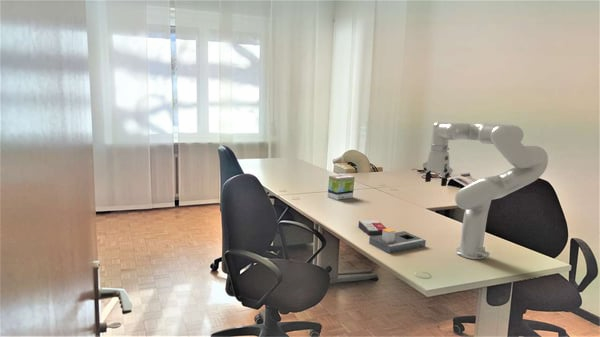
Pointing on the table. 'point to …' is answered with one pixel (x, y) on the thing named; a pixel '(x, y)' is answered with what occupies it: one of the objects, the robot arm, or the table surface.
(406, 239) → the port panel
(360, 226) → the calculator
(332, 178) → the tea box
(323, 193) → the table surface
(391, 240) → the plug
